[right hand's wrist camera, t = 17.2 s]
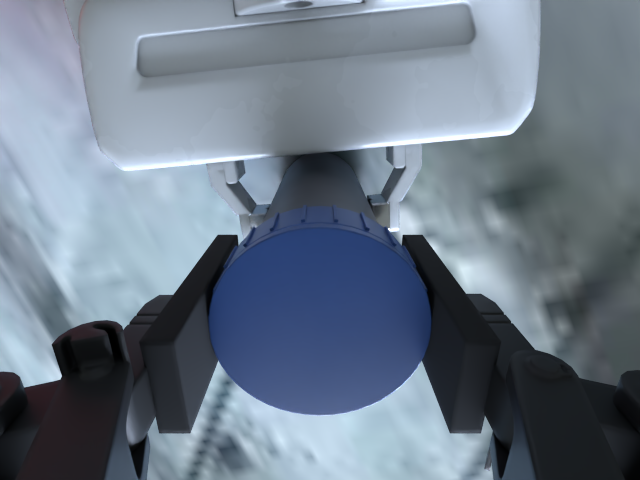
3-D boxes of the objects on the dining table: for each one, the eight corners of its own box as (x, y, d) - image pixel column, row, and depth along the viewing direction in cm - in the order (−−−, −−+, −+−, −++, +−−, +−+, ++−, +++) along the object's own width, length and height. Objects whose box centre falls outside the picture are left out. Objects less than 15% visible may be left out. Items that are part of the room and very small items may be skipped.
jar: (370, 166, 25) (441, 266, 10) (343, 237, 27) (372, 406, 12) (293, 141, 24) (253, 208, 10) (272, 215, 26) (211, 365, 12)
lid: (262, 168, 11) (249, 184, 9) (454, 250, 12) (480, 279, 10) (199, 338, 13) (178, 378, 11) (365, 394, 14) (372, 440, 12)
